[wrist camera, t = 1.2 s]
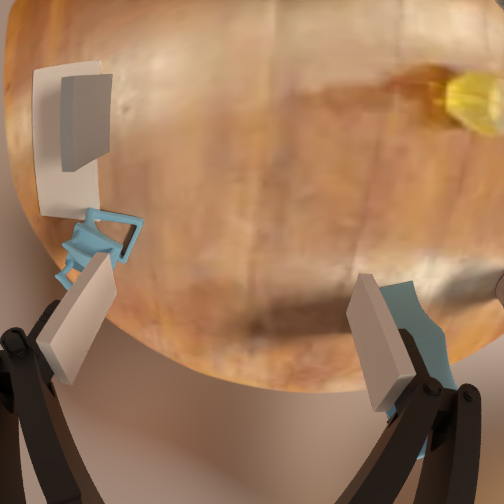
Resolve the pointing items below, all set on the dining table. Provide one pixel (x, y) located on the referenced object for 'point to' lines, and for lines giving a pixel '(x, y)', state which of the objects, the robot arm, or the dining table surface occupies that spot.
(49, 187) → the mat
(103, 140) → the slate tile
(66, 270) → the chair
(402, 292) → the blue wavy holder
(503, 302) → the coffee cup
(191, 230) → the dining table surface
